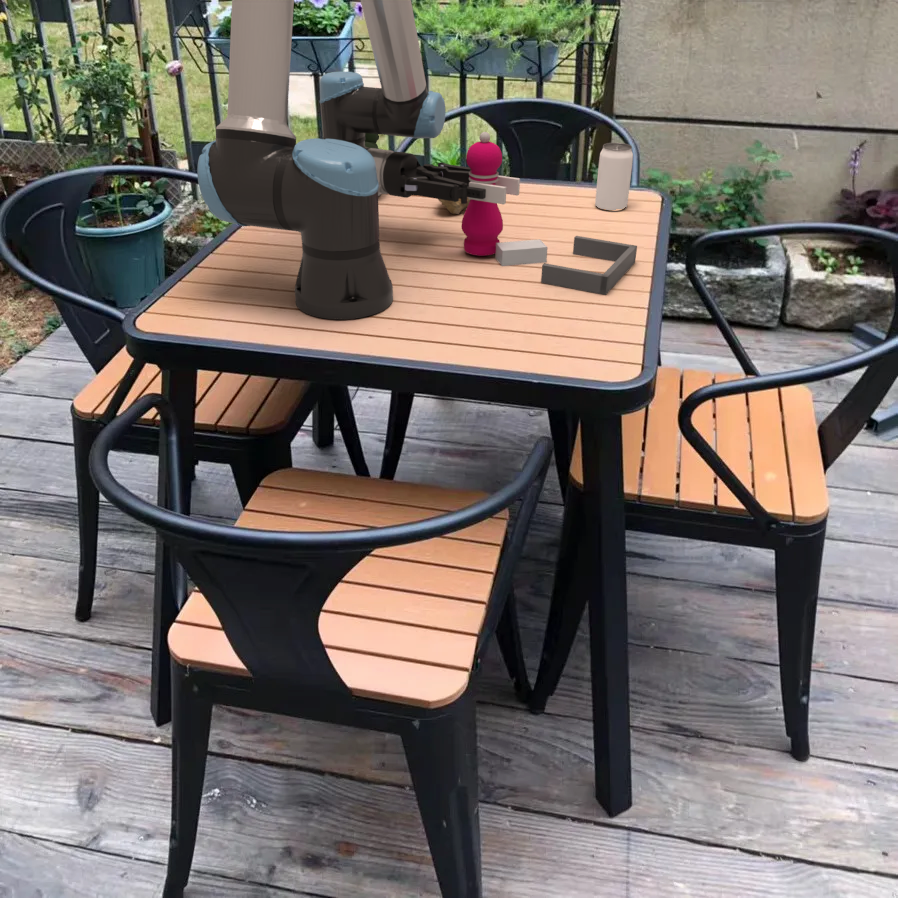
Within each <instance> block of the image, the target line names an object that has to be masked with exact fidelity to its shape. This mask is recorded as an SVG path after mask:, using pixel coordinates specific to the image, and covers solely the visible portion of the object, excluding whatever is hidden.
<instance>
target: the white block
mask: <svg viewBox="0 0 898 898" xmlns="http://www.w3.org/2000/svg"><path fill="white" fill-rule="evenodd" d="M547 257H548V246H547V245H546V244H545V243H544V241H542V239H529V240H527V239H526V240H514V241H504V242H501V241H500V243H496V253H495V259H496V261H497V262H498V263H499V265H500V266H501V267H509V266H521V265H531V264H541V263H542V264H544V263H547V260H548V259H547Z"/></svg>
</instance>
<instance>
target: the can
mask: <svg viewBox="0 0 898 898" xmlns="http://www.w3.org/2000/svg"><path fill="white" fill-rule="evenodd" d="M632 148H633V146H632V145H631V144H628V143H622V142H607V143H604V144H603V145H602V149H601V151H600V153H599V158H598V159H599V160H598V167H597V168H598V169H597V170H598V171H597V181H596V190H595V200H594V201H595V202H594V205H595V207H596V206H597V207H598V208H601V209H606V210H616V209H623V208H625V207H626V208H627V207H628V203H629V194H630V186H631V178H632V168H633V161H634V154H633V150H632ZM597 207H596V208H597ZM598 208H597V209H598ZM626 208H625V209H626Z"/></svg>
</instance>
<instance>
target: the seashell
mask: <svg viewBox="0 0 898 898" xmlns="http://www.w3.org/2000/svg"><path fill="white" fill-rule="evenodd" d="M437 200H438V202H440V203H441V204H442V206H444V207H445V208H446V210H447V211H448V212H449V213H451V214H452V215H459V214H460V213H461V212H462V211H463V210H465V211H466V209H467V207H468V204H469V202H470V199H469V197H467V203H466V204H461V199H459V201H457V202H454V201H448V200H442V199H437Z"/></svg>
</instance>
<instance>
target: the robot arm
mask: <svg viewBox="0 0 898 898" xmlns="http://www.w3.org/2000/svg"><path fill="white" fill-rule="evenodd" d="M294 2H295V0H231V15H230V16H231V18H230V19H231V20H230V41H229V46H230V47H229V66H228V67H229V69H228V91H227V92H228V94H227V113H226V114H227V116H226V118H225V119H224V120H223V121H221V122H220V123H219V124H218V125H217V126H216V129H215V140H213V141H211V142H209V143H207V144H206V145H204V147H203V148H202V150H201V154H200V155H199V157H198V162H197V169H196V171H197V183H198V188H199V192H200V194H201V197H202V200H203V202H204V204H205V205H206V206H207V208H208V210H209V212H211V214H212V215H213V216H214V217H216V218H217V219H219V220H220V221H223V222H226V223H229V224H230V223H231V224H237V225H239V226H242V227H257V228H266V229H275V230H283V231H290V232H291V231H292V232H298V233H300V237H301V238H300V239H301V246H302V247H301V248H302V256H301V260H300V264H299V268H298V273H297V277H296V281H295V286H294V297H295V299H294V300H295V304H296V307H297V308H298V309H299V310H300V311H301V312H303V313H305V314H307V315H310V316H312V317H317V318H321V319H328V320H353V319H359V318H366V317H368V316H369V317H370V316H373V315H376V314H378V313H380V312H383V311H385V310H386V309H387V308H389V307H390V306H391V304H392V303H393V300H394V287H393V286H394V285H393V283H392V280H391V279H390V275H389V271H388V269H387V267H386V264H385V263H386V262H385V261H384V258H383V255H382V253H381V248H380V243H381V242H380V218H379V217H380V215H379V212H380V211H379V197H380V196H381V195H390V196H391V197H393V196H394V197H399V198H403V199H404V198H405V199H407V198H409V197H412V196H419V197H425V198H432V199H437V200H438V199H442V200H448V201H454V202H457V201H459V199H461V204H466V203H467V197H469V199H472V200H478V201H485V202H491V203H497V205H505V204H506V203H507V195H511V196H519V195H520V188H521V178H519V177H512V176H511V177H510V176H505V175H498V179H499V180H498V181H497V182H496V184H495V185H490V184H483V183H476V182H471V181H469V176H470V175H469V172H470V171H471V169H470V167H469V166H462V165H455V164H453V165H452V164H449V163H446V162H438V163H437V165H434V164H432V163H431V164H430V163H429V164H428V163H426V164H423V165H421V164H420V161H419V160H418V158H417V157H416V155H415V154H413V153H410V152H403V151H393V150H390V149H382V148H379V149H375V148H367V147H365V133H369V134H378V135H384V136H392V137H393V136H394V137H402V138H403V137H404V138H413V139H436V138H437V137H439V136H440V135H441V133H442V131H443V129H444V125H445V121H446V103H445V99H444V98H443V95H442V94H441V93H440V92H437V91H433V90H428V87H427V82H426V76H425V71H424V70H425V69H424V66H423V59H422V53H421V50H420V49H421V48H420V43H419V38H418V33H417V27H416V21H415V15H414V9H413V5H412V0H360V3H361V8H362V13H363V16H364V21H365V24H366V25H365V26H366V29H367V32H368V33H367V34H368V38H369V41H370V45H371V50H372V53H373V58H374V62H375V66H376V71H377V75H378V79H379V83H380V87H370V86H369V87H368V86H365V84H364V80H363V77H362V75H361V74H360V73H358V72H354V71H333V72H327V73H325V74H323V75H322V76H321V77H320V80H319V101H318V102H319V104H320V115H321V116H320V118H321V126H322V127H321V129H322V138H319V137H317V138H316V137H315V138H308V139H303V140H300V141H298V142H297V136H296V134H294V133H293V131H292V130H291V128H290V127H289V125H288V124H287V123H288V113H289V112H288V111H289V109H288V108H289V95H290V94H289V93H290V92H289V91H290V77H291V75H290V73H291V59H292V58H291V57H292V56H291V55H292V38H293V20H294Z"/></svg>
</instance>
